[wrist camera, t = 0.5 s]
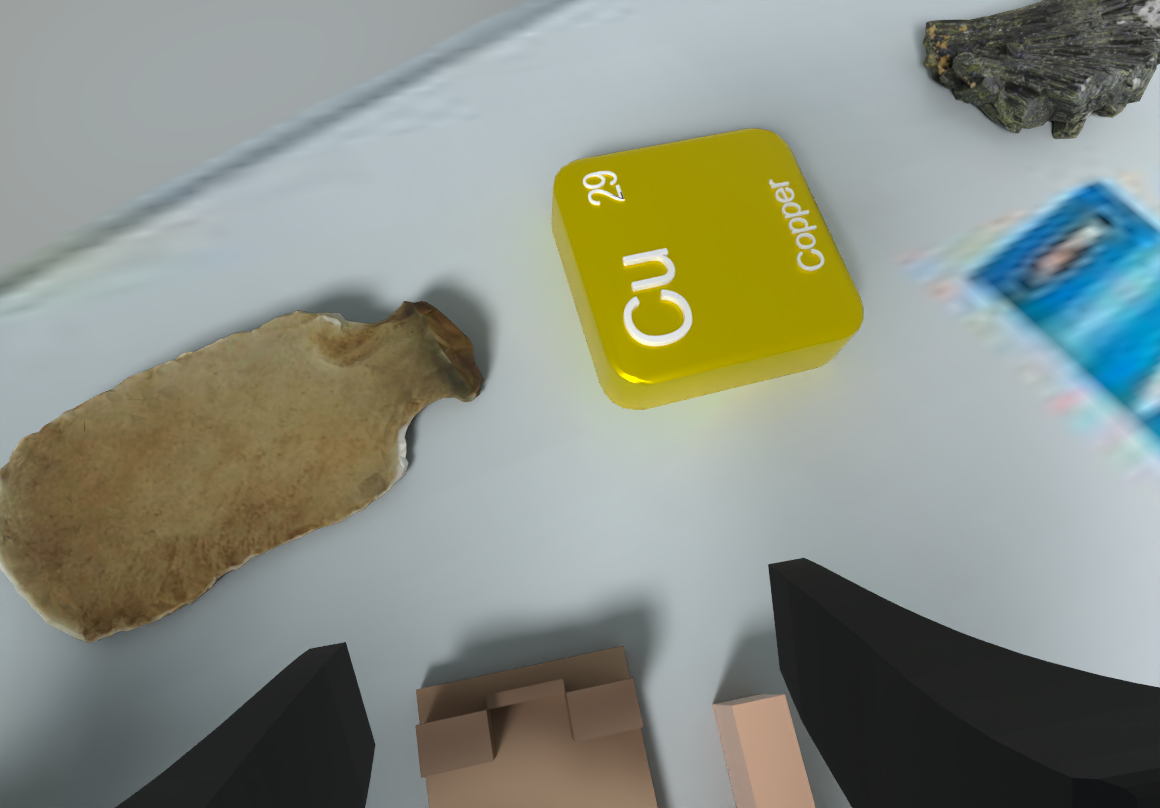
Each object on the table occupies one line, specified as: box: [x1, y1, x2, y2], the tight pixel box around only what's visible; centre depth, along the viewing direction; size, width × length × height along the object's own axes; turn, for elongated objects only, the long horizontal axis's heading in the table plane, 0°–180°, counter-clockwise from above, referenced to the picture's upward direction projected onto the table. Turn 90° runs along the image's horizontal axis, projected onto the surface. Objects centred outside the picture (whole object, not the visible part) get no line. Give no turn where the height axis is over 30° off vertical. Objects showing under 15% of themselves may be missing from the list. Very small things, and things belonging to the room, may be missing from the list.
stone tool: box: [0, 301, 483, 643], centre depth 37 cm, size 12×4×25 cm
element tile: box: [552, 128, 863, 410], centre depth 43 cm, size 15×15×5 cm
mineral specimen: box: [923, 0, 1160, 139], centre depth 49 cm, size 15×13×10 cm
